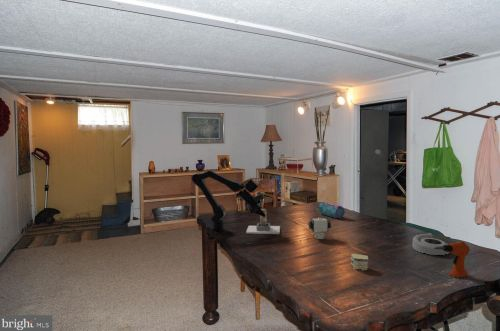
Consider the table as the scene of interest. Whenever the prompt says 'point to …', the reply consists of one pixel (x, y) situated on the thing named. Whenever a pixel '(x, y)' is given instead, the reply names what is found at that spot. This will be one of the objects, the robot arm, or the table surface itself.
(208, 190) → the robot arm
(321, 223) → the pneumatic valve
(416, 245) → the turbocharger housing
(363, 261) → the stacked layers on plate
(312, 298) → the table surface
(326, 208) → the pencil case
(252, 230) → the socket plate
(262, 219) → the birch pin
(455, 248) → the toy drill
